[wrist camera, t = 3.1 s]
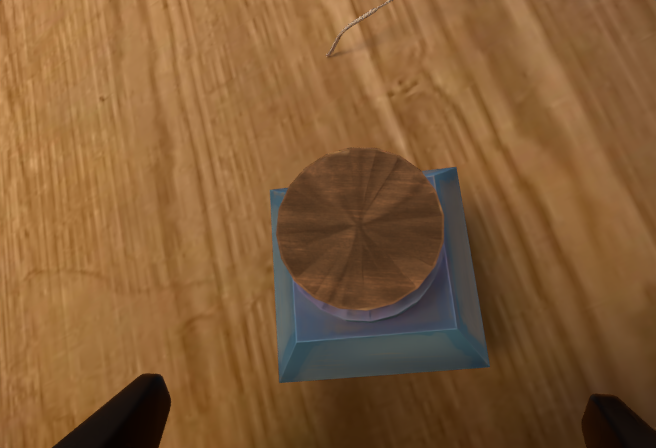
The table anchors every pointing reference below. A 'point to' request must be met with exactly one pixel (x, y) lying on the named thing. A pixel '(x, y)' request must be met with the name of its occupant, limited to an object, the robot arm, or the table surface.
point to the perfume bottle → (373, 270)
